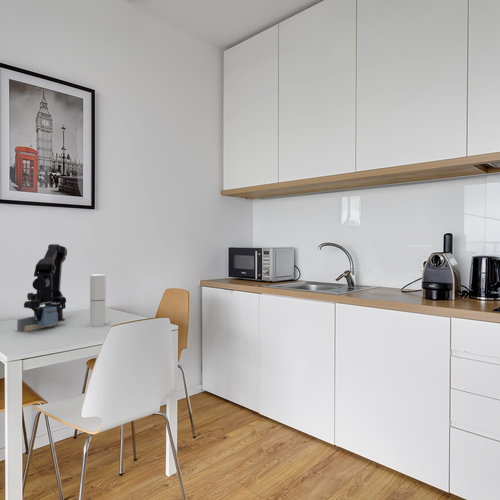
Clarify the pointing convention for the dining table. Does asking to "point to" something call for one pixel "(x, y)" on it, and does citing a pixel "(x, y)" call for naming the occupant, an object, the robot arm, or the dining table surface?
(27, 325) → the wall board
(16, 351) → the dining table surface
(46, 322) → the blue block
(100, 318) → the cylindrical container
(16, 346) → the dining table surface
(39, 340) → the dining table surface
